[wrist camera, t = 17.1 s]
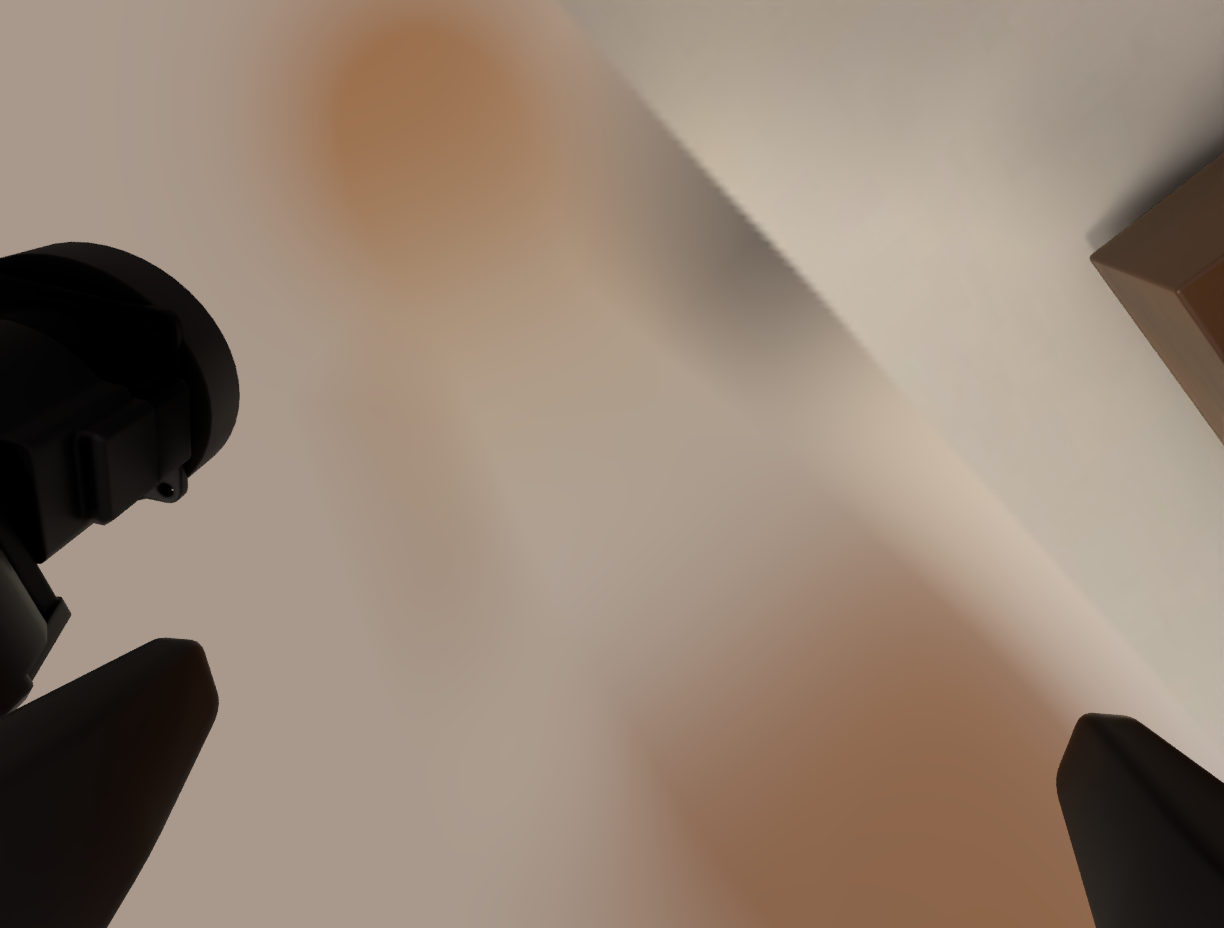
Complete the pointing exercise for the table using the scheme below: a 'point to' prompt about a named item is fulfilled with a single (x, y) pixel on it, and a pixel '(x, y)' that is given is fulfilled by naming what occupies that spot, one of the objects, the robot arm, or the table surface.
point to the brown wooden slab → (1178, 285)
